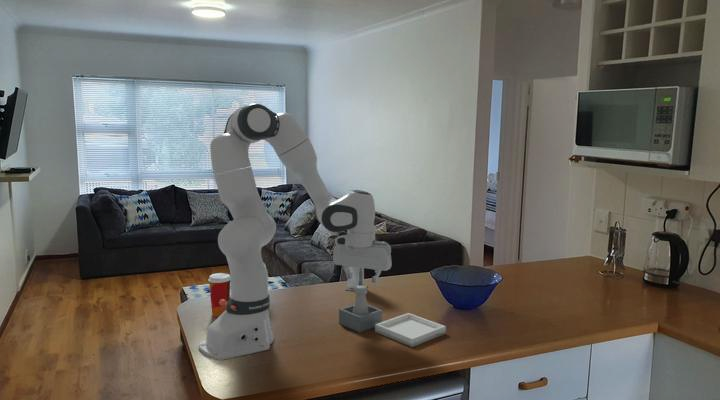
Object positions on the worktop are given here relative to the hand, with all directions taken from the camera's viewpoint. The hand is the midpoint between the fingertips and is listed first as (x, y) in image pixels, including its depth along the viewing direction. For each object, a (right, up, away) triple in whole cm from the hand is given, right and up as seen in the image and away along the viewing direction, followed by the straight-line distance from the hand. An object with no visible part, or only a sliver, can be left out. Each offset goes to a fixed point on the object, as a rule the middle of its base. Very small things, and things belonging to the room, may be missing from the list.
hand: (362, 280), depth 182 cm
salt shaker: (-1, -15, +2) cm, 15 cm away
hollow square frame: (-1, -15, +2) cm, 15 cm away
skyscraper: (-3, -9, +41) cm, 42 cm away
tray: (+15, -16, -5) cm, 23 cm away
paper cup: (-49, -13, +9) cm, 52 cm away
